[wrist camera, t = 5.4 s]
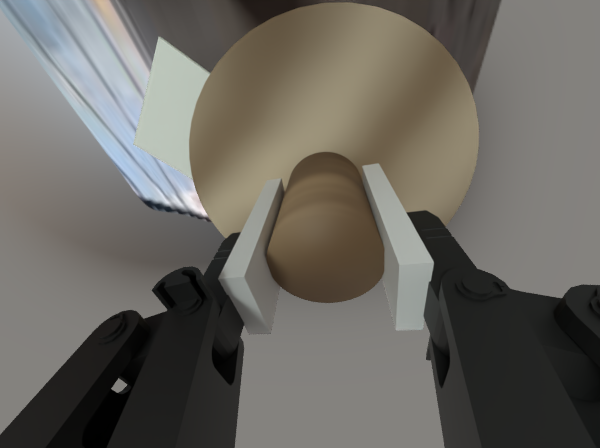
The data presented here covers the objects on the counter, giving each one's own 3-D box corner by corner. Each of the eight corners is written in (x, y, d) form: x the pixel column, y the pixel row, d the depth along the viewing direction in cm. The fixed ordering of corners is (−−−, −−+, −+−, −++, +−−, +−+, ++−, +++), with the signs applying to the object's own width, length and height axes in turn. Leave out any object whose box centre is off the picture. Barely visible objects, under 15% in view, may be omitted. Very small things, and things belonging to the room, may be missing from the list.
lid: (166, 203, 15) (73, 285, 10) (282, -108, 8) (164, -597, 2) (341, 296, 19) (349, 395, 14) (533, 150, 12) (737, 232, 6)
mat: (135, 143, 35) (133, 144, 34) (161, 37, 27) (158, 36, 27) (226, 197, 38) (225, 198, 38) (270, 117, 31) (270, 118, 30)
